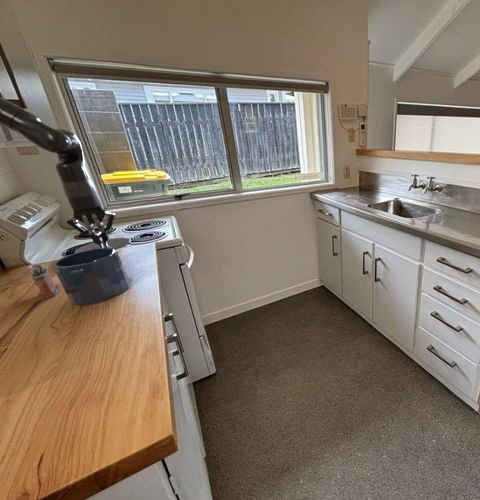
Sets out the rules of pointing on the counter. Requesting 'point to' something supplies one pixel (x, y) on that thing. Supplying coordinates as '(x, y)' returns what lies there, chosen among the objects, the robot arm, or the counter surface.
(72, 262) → the pot
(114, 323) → the counter surface
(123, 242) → the pot lid
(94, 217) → the robot arm
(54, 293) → the lighter
